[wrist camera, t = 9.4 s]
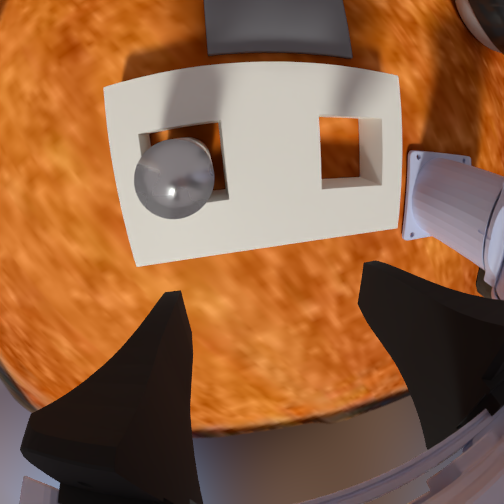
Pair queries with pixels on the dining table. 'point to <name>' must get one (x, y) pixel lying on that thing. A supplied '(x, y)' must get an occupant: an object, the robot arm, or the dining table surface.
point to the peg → (175, 177)
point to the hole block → (260, 154)
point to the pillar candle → (483, 285)
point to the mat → (277, 27)
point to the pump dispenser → (484, 21)
